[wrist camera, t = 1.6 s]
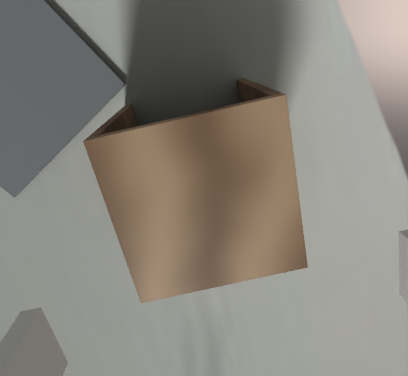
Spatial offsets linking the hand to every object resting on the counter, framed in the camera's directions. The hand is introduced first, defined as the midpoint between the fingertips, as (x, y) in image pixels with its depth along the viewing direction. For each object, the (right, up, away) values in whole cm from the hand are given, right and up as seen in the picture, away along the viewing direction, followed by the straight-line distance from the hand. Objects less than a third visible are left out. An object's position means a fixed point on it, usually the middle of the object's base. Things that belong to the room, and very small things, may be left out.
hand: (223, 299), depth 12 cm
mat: (-18, +13, +16) cm, 28 cm away
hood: (-1, +8, +19) cm, 21 cm away
